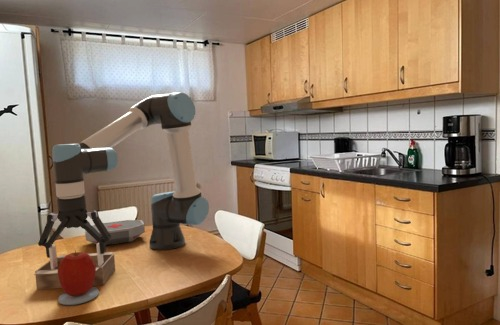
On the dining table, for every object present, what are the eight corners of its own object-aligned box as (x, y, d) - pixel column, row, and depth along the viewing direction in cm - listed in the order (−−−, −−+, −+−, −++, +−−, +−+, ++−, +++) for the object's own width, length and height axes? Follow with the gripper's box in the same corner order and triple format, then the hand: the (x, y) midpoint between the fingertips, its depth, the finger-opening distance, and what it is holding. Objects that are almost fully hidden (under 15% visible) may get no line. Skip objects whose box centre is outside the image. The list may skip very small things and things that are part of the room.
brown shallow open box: (117, 267, 134) (116, 251, 133) (100, 288, 116) (99, 270, 115) (58, 271, 132) (57, 255, 132) (32, 292, 114) (31, 274, 114)
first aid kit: (86, 251, 155) (146, 242, 165) (85, 234, 154) (145, 226, 164) (86, 240, 171) (141, 233, 181) (85, 225, 170) (140, 218, 180)
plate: (103, 288, 115) (103, 285, 115) (91, 304, 104) (90, 301, 104) (67, 291, 115) (67, 288, 114) (51, 307, 104) (51, 304, 103)
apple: (63, 305, 102) (59, 257, 101) (57, 293, 110) (53, 249, 109) (101, 294, 108) (98, 249, 107) (93, 284, 117) (89, 242, 115)
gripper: (117, 191, 112) (123, 258, 114) (33, 196, 110) (41, 264, 112) (110, 196, 104) (116, 267, 106) (20, 201, 102) (28, 273, 104)
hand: (77, 266), depth 109 cm, fingers open, 13 cm apart
